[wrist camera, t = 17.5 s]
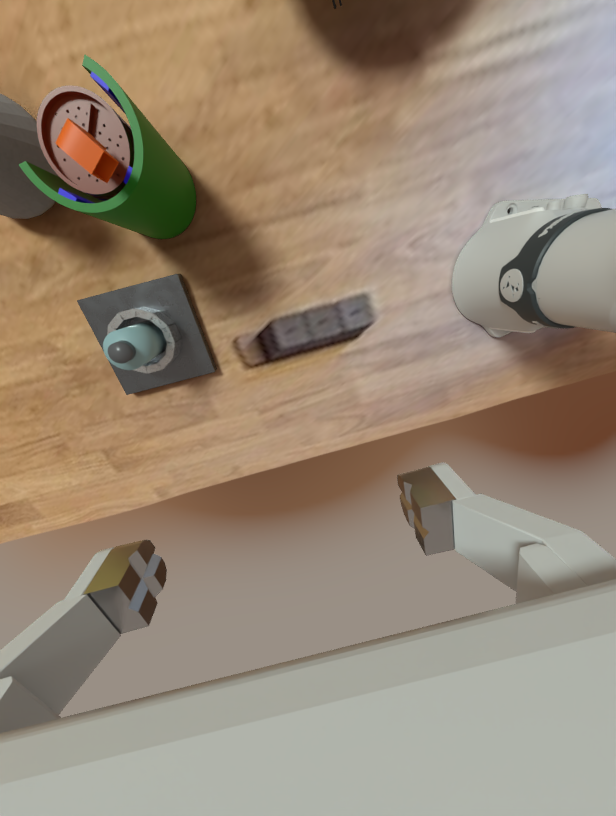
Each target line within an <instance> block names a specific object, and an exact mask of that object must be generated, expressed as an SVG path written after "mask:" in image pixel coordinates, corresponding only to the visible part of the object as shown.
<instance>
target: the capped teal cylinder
mask: <svg viewBox="0 0 616 816" xmlns="http://www.w3.org/2000/svg"><path fill="white" fill-rule="evenodd" d="M166 347H167V341H166V339H165V337H164V334H163V332H162V330H161V329H160V328H159V327H158V326H156V325H155V324H154V323H153V322H149V321H146V322H142V323H138V324H135V325H132V326H128V327H125V328H122V329H118V330H115V331H112V332H110V333H109V334H108V335H107V336H106V337H105V339H104V342H103V350H104V353H105V355H106V357H107V359H108V360H109V361H110V362H111V363H112V364H113V365H115V366H116V367H118V368H120V369H124V370H134V369H137V368H139V367H141V366H142V365H144V364H146V363H147V362H149V361H150V360H152V359H154V358H155V357H157V356H158V355H160V354H162V353H163V352H164V351H165V350H166Z"/></svg>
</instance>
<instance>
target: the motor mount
mask: <svg viewBox="0 0 616 816" xmlns="http://www.w3.org/2000/svg"><path fill="white" fill-rule="evenodd" d="M77 302H78V304H79V306H80V308H81V309H82V311H83V313H84V315H85V317H86V319H87V321H88V323H89V325H90V326H91V328H92V330H93V332H94V334H95V336H96V338H97V340H98V342H99V344H100V345H101V347H102V349H103V342H104V339H105V337H106V336H107V335H108V334H109V333H110V332H112V331H115V330H118V329H122V328H125V327H128V326H132V325H135V324H138V323H142V322H146V321H149V322H153V323H154V324H155V325H156V326H158V327H159V328H160V329H161V330H162V332H163V334H164V337H165V339H166V341H167V347H166V350H165V351H164V352H163V353H162V354H160V355H158V356H157V357H155V358H154V359H152V360H150V361H149V362H147V363H146V364H144V365H142V366H141V367H139V368H137V369H134V370H124V369H120V368H118V367H116V366H115V365H113V364H112V363H111V362H110V361H109V360H108V361H109V362H110V364H111V366H112V368H113V370H114V372H115V374H116V376H117V378H118V380H119V381H120V383H121V385H122V387H123V389H124V391H125V393H126V395H128V394H132V393H136V392H140V391H143V390H147V389H151V388H155V387H159V386H162V385H166V384H170V383H174V382H178V381H182V380H185V379H189V378H193V377H197V376H201V375H204V374H208V373H212V372H215V371H216V369H217V368H216V366H215V363H214V361H213V358H212V355H211V353H210V350H209V347H208V345H207V342H206V340H205V337H204V334H203V332H202V329H201V326H200V324H199V321H198V319H197V316H196V313H195V311H194V308H193V305H192V303H191V300H190V297H189V295H188V292H187V290H186V287H185V284H184V282H183V279H182V276H181V274H175V275H171V276H167V277H163V278H160V279H156V280H152V281H148V282H145V283H141V284H137V285H133V286H130V287H126V288H122V289H118V290H115V291H111V292H107V293H103V294H100V295H96V296H92V297H88V298H85V299H81V300H77ZM103 351H104V350H103Z"/></svg>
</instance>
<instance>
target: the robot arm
mask: <svg viewBox="0 0 616 816" xmlns="http://www.w3.org/2000/svg"><path fill="white" fill-rule="evenodd" d="M508 209H509V210H510V213H509V214H508V213H507V211H508ZM452 292H453V298H454V301H455V303H456V306H457V308H458V309H459V311H460V312H461V313H462V314H463V315H464V316H465V317H466V318H467V319H469V320H471V321H473V322H475V323H477V324H480V325H482V326H483V327H484V328H485V330H486V331H487V332H488V333H489V334H490V335H491V336H492V337H502V336H504V335H507V334H509V333H511V332H522V333H534V332H535V331H536V330H538V329H541V328H543V327H547V328H574V327H581V328H588V329H594V330H601V331H607V332H614V333H616V209H610V208H602V207H601V204H600V202H599V200H598V199H596V198H588V194H581V195H575V196H570V197H567V198H565V199H546V200H515V201H502V202H498V203H496V204H495V205H494V206H493V207H492V208H491V210H490V212H489V213H488V215H487V217H486V219H485V222H484V224H483V225H482V227H481V228H480V229H479V230H478V232H477V233H476V234H475V235H474V236H473V237H472V238H471V239H470V240H469V241H468V242H467V244H466V245H465V247H464V248H463V250H462V251H461V253H460V255H459V257H458V259H457V262H456V264H455V268H454V271H453V277H452ZM397 481H398V486H399V488H400V489H401V491H402V493H401V495H400V501H401V506H402V509H403V512H404V515H405V517H406V520H407V521H408V523H409V525H410V526H411V527H413V528H414V529H415V534H416V538H417V540H418V542H419V544H420V546H421V548H422V549H423V551H424V553H425V555H426V556H427V555H431V554H436V553H440V552H445V551H449V550H454V549H455V551H456V552H458V553H459V554H461V555H463V556H464V557H465V558H467V559H468V560H470V561H471V562H473V563H474V564H476V565H477V566H479V567H480V568H482V569H483V570H485V571H486V572H488V573H489V574H491V575H492V576H493V577H495V578H496V579H498V580H499V581H501V582H502V583H504V584H505V585H507V586H508V587H510V588H511V589H513V590H515V591H516V592H517V593H516V604H514V605H510V606H506V607H502V608H498V609H494V610H490V611H486V612H482V613H478V614H474V615H470V616H466V617H462V618H458V619H454V620H450V621H446V622H442V623H438V624H434V625H430V626H426V627H422V628H418V629H414V630H410V631H406V632H402V633H398V634H394V635H390V636H386V637H382V638H378V639H374V640H370V641H366V642H362V643H358V644H355V645H350V646H346V647H342V648H338V649H335V650H331V651H327V652H323V653H319V654H315V655H311V656H307V657H303V658H299V659H295V660H291V661H287V662H283V663H279V664H275V665H271V666H267V667H263V668H259V669H255V670H251V671H247V672H243V673H239V674H235V675H231V676H227V677H223V678H219V679H215V680H211V681H207V682H203V683H199V684H195V685H191V686H187V687H183V688H179V689H175V690H171V691H167V692H163V693H159V694H155V695H151V696H147V697H143V698H139V699H135V700H131V701H127V702H123V703H119V704H115V705H111V706H107V707H103V708H99V709H95V710H91V711H87V712H83V713H79V714H75V715H71V716H67V717H63V718H61V717H60V716H59V714H60V713H61V711H62V710H63V708H64V707H65V706H66V705H67V704H68V702H69V701H70V700H71V699H72V697H73V696H74V695H75V693H76V692H77V691H78V689H79V688H80V687H81V686H82V684H83V683H84V682H85V681H86V679H87V678H88V677H89V676H90V674H91V673H92V672H93V671H94V669H95V668H96V667H97V665H98V664H99V663H100V661H101V660H102V659H103V658H104V657H105V655H106V654H107V653H108V651H109V650H110V649H111V648H112V646H113V645H114V644H115V642H116V641H117V640H118V639H119V637H120V636H121V635H120V634H122V633H126V632H129V631H133V630H136V629H140V628H143V627H147V626H149V624H150V622H151V619H152V616H153V614H154V611H155V608H156V606H157V600H156V598H155V597H156V596H157V595H158V594H159V593H160V591H161V590H162V589H163V587H164V584H165V582H166V572H167V569H166V566H165V562H164V561H163V559H162V558H161V557H160V556H158V555H156V554H154V551H155V546H154V545H153V544H152V542H151V541H150V540H142V541H138V542H133V543H129V544H125V545H120V546H116V547H113V548H109V549H105V550H101V551H99V552H98V553H96V554H95V555H94V557H93V558H92V560H91V562H90V563H89V564H88V566H87V567H86V569H85V570H84V571H83V573H82V574H81V576H80V577H79V579H78V580H77V582H76V583H75V585H74V586H73V588H72V589H71V590H70V592H69V593H68V595H67V596H66V598H65V599H64V600H63V601H59V602H58V603H56V604H55V605H54V606H53V607H52V608H50V609H49V610H48V611H47V612H46V613H44V614H43V615H42V616H41V617H40V618H39V619H37V620H36V621H35V622H34V623H32V624H31V625H30V626H29V627H28V628H26V629H25V630H24V631H23V632H22V633H21V634H19V635H18V636H17V637H16V638H15V639H13V640H12V641H11V642H10V643H9V644H7V645H6V646H5V647H4V648H3V649H1V650H0V816H616V559H615V558H614V557H612V556H611V555H610V554H609V553H608V552H607V551H605V550H604V549H603V548H602V547H600V546H599V545H598V544H597V543H596V542H594V541H593V540H592V539H591V538H590V537H588V536H587V535H586V534H585V533H584V532H582V531H580V530H578V529H575V528H572V527H570V526H567V525H564V524H562V523H559V522H556V521H554V520H551V519H548V518H545V517H543V516H540V515H537V514H535V513H532V512H529V511H527V510H524V509H521V508H519V507H516V506H513V505H511V504H508V503H505V502H502V501H500V500H497V499H494V498H492V497H489V496H486V495H483V494H477V495H476V494H475V493H474V492H473V491H472V490H471V489H470V488H469V487H468V485H467V484H466V483H465V482H464V481H463V480H462V479H461V478H460V477H459V476H458V475H457V474H456V473H455V472H454V471H453V470H452V468H451V467H450V466H449V465H448V464H447V463H445V462H442V463H438V464H435V465H431V466H428V467H426V468H422V469H418V470H414V471H410V472H407V473H403V474H399V475H397Z"/></svg>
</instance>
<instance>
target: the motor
mask: <svg viewBox="0 0 616 816" xmlns="http://www.w3.org/2000/svg"><path fill="white" fill-rule="evenodd" d="M82 66H83V67H84V68H85V69H86V70H87V71H88V72H89V73H90V74H91V75H90V76H91V77H92V78H93V79H94V81H95V82H96V83H97V84H98V85H99V86H100V87H101V88H102V89H103V90H104V91H105V92H106V93H107V95H108V96H109V97H110V98H111V99H112V100H113V101H114V102H115V103H116V104H117V105H118V106H119V107H120V109H121V110H122V111H123V112H124V113H125V114H126V116H127V118H128V121H129V123H130V126H129V125H128V124H127V123H126V122H125V121H124V120H123V119H122V118H121V117H120V116H119V115H118V114H117V113H116V112H115V111H114V110H113V109H112V108H111V107H110V106H109V105H108V104H107V103H106V102H105V101H104V100H103V99H102V98H101V97H99V96H98V95H96V94H95V93H93V92H91V91H89V90H87V89H85V88H82V87H78V86H63V87H59V88H56V89H54V90H53V91H51V92H50V93H49V94H48V95H47V96H46V97H45V98H44V100H43V101H42V103H41V105H40V107H39V111H38V115H37V134H38V139H39V143H40V146H41V149H42V151H43V154H44V156H45V158H46V159H47V161H48V163H49V164H50V166H51V167H52V169H53V170H54V171H55V172H56V173H57V175H58V176H59V177H58V176H56V175H54V174H52V173H50V172H48V171H46V170H44V169H41V168H39V167H37V166H35V165H33V164H31V163H29V162H27V161H24V162H23V163H21V164H19V166H20V168H21V169H22V170H23V172H24V173H25V174H26V176H27V177H28V178H29V179H30V180H31V181H32V183H33V184H34V185H35V186H36V187H37V188H39V189H40V190H41V191H42V192H43V193H44V194H46V195H47V196H48V197H50V198H51V199H53V200H54V201H56V202H58V203H59V204H61V205H63V206H65V207H68V208H70V209H73V210H76V211H79V212H82V213H84V214H87V215H90V216H93V217H96V218H98V219H101V220H104V221H107V222H110V223H112V224H115V225H118V226H121V227H124V228H126V229H129V230H132V231H135V232H138V233H140V234H143V235H146V236H149V237H152V238H156V239H168V238H172V237H175V236H177V235H179V234H181V233H182V232H183V231H184V230H185V229H186V228H187V227H188V226H189V224H190V223H191V221H192V219H193V216H194V213H195V209H196V191H195V187H194V183H193V180H192V177H191V175H190V173H189V171H188V169H187V168H186V166H185V165H184V163H183V162H182V161H181V160H180V158H179V157H178V156H177V155H176V154H175V152H174V151H173V150H172V149H171V148H170V146H169V145H168V144H167V143H166V142H165V140H164V139H163V138H162V137H161V135H160V134H159V133H158V132H157V131H156V129H155V128H154V127H153V126H152V125H151V123H150V122H149V121H148V120H147V119H146V117H145V116H144V115H143V114H142V112H141V111H140V110H139V109H138V108H137V106H136V105H135V104H134V103H133V102H132V100H131V99H130V98H129V97H128V96H127V94H126V93H125V92H124V91H123V90H122V88H121V87H120V86H119V85H118V83H117V82H116V81H115V80H114V79H113V78H112V76H111V75H110V74H109V73H108V72H107V71H106V70H105V69H104V68H103V67H101V66H100V65H99V64H98V63H96V62H95V61H94V60H92V59H91V58H89V57H88V56H86V55H84V60H83V65H82ZM56 114H57V115H56Z"/></svg>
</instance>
